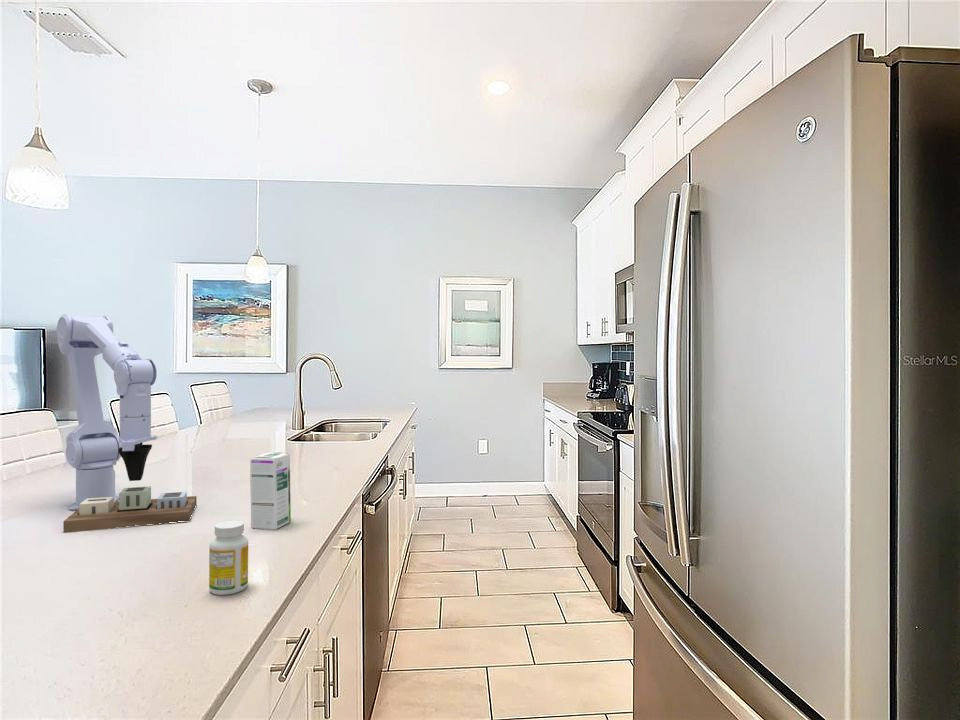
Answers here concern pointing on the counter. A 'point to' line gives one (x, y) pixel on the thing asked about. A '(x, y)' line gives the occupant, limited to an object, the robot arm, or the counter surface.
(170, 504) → the tile three
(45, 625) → the counter surface
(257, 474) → the syrup box
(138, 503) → the tile two
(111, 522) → the frame
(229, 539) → the supplement bottle
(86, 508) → the tile one
